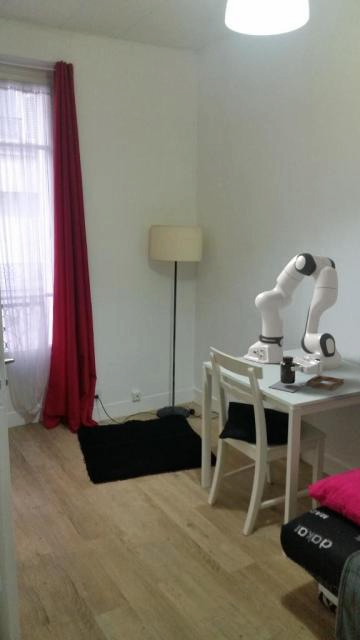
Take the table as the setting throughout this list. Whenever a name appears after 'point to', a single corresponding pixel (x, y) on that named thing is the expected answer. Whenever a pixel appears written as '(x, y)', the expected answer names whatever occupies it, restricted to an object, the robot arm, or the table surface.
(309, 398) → the table surface
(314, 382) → the frame
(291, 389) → the grey mat
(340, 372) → the table surface
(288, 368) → the supplement bottle
